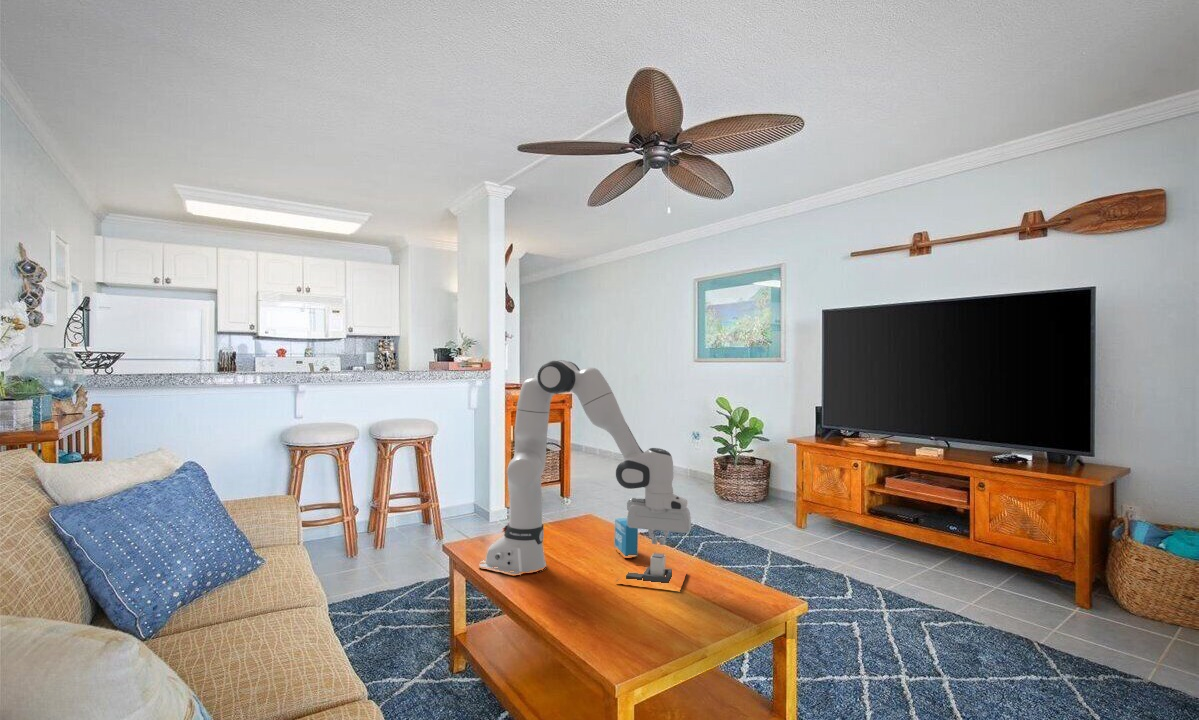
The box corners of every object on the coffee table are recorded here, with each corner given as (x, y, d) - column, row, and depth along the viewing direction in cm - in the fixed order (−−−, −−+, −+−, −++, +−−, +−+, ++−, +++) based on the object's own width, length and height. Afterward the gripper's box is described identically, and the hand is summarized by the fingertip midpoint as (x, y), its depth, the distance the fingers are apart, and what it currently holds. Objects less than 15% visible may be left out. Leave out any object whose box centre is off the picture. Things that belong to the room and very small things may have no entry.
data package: (614, 549, 214) (614, 517, 214) (625, 548, 215) (626, 516, 216) (625, 560, 203) (626, 526, 203) (637, 559, 204) (638, 525, 204)
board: (616, 584, 180) (616, 574, 180) (628, 567, 195) (628, 558, 196) (680, 592, 175) (680, 581, 175) (687, 574, 190) (687, 564, 190)
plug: (650, 579, 181) (650, 556, 181) (652, 574, 186) (653, 551, 186) (662, 581, 180) (663, 557, 180) (665, 576, 184) (665, 553, 185)
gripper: (624, 499, 183) (624, 543, 183) (689, 505, 177) (689, 550, 177) (629, 495, 189) (628, 537, 189) (692, 500, 183) (691, 544, 183)
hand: (658, 543), depth 183 cm, fingers closed
